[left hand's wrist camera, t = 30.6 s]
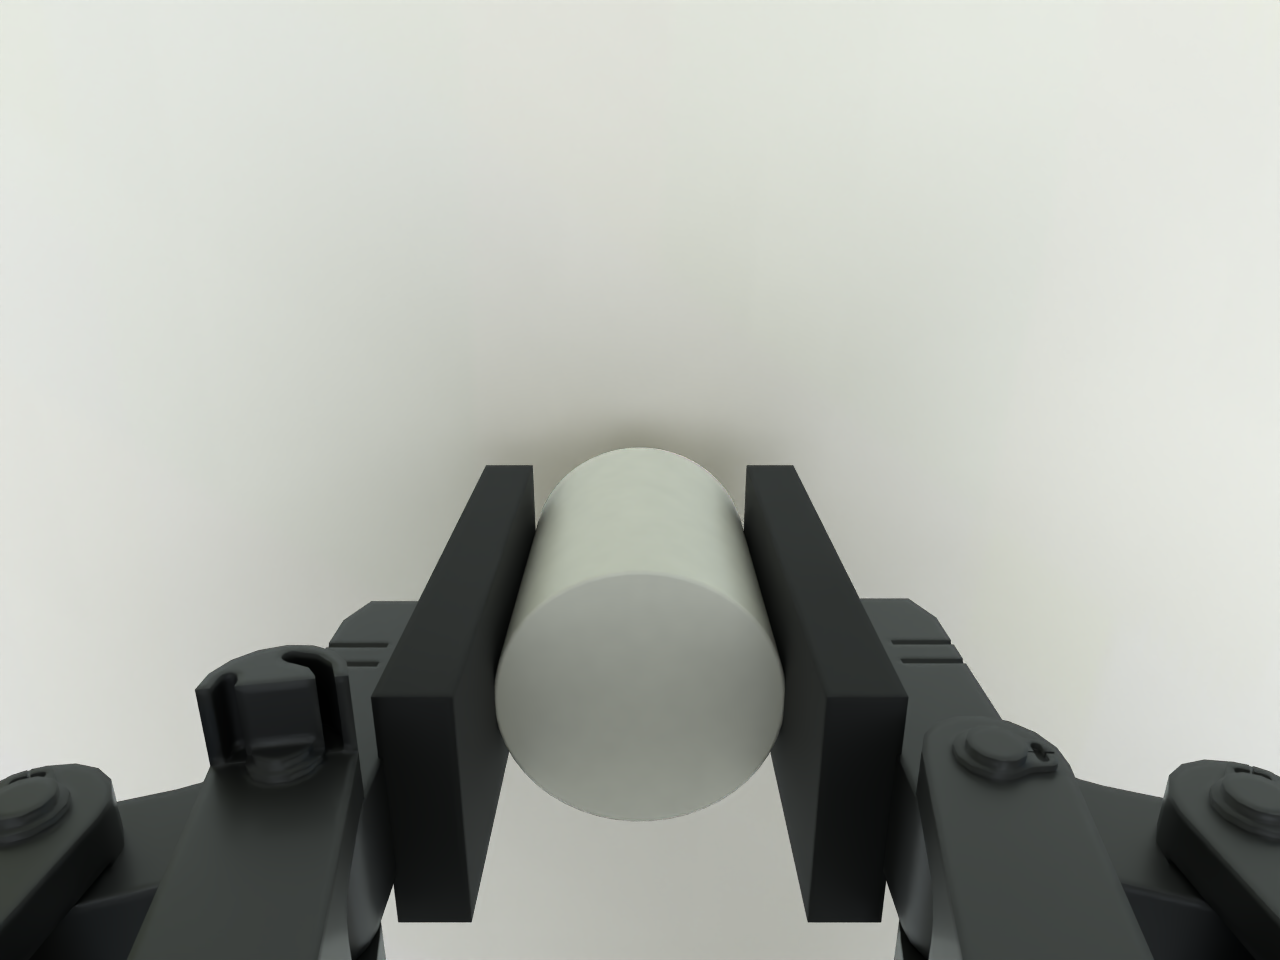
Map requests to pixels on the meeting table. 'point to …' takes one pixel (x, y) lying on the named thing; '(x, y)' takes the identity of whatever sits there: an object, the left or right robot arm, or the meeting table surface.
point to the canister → (639, 643)
